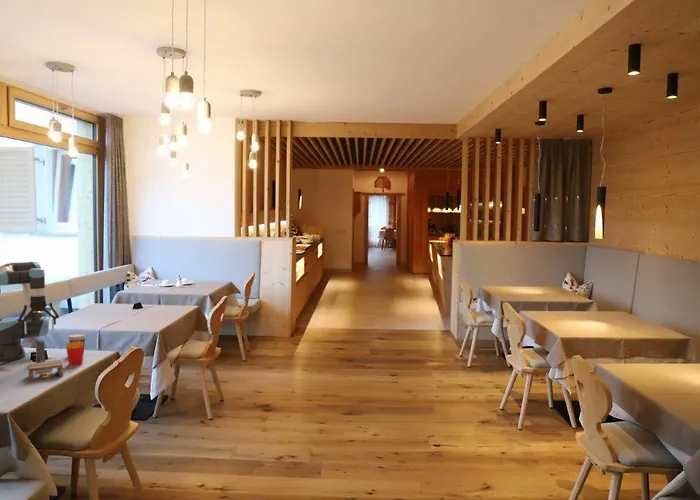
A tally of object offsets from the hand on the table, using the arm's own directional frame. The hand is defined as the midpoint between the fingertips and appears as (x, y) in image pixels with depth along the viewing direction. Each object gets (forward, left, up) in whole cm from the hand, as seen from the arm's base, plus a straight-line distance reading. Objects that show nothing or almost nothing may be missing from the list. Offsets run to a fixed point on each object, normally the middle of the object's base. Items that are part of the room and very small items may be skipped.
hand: (39, 331), depth 302 cm
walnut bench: (+29, 0, -18) cm, 34 cm away
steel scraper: (+8, 0, -18) cm, 20 cm away
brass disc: (+29, 0, -18) cm, 34 cm away
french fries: (+14, +16, -18) cm, 28 cm away
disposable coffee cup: (-6, +20, -18) cm, 28 cm away
